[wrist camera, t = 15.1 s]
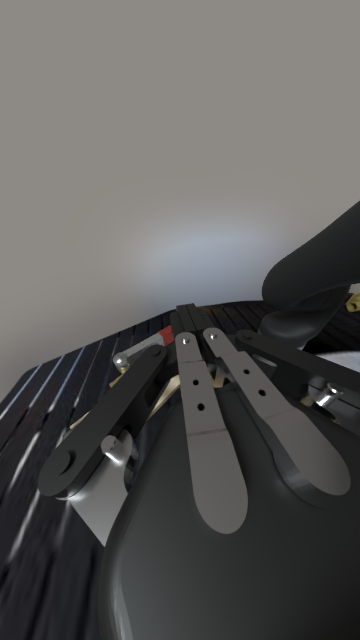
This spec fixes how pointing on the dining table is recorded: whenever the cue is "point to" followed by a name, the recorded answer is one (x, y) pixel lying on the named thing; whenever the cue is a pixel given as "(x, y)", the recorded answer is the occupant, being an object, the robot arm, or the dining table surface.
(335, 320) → the dining table surface
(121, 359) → the valve lever
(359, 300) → the ball valve
